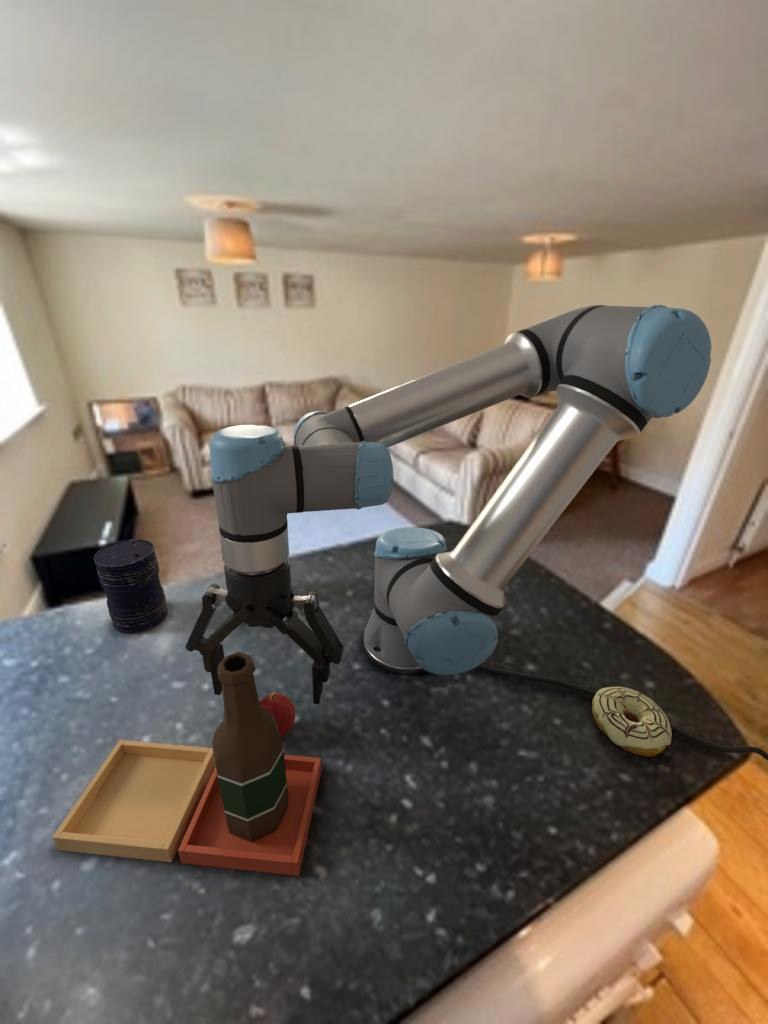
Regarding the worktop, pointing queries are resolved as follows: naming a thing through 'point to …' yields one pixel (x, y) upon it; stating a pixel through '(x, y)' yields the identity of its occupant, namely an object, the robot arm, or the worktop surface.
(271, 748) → the beer bottle
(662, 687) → the worktop surface
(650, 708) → the decorated donut
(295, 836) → the terracotta tray
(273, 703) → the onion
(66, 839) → the birch tray
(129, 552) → the storage jar
